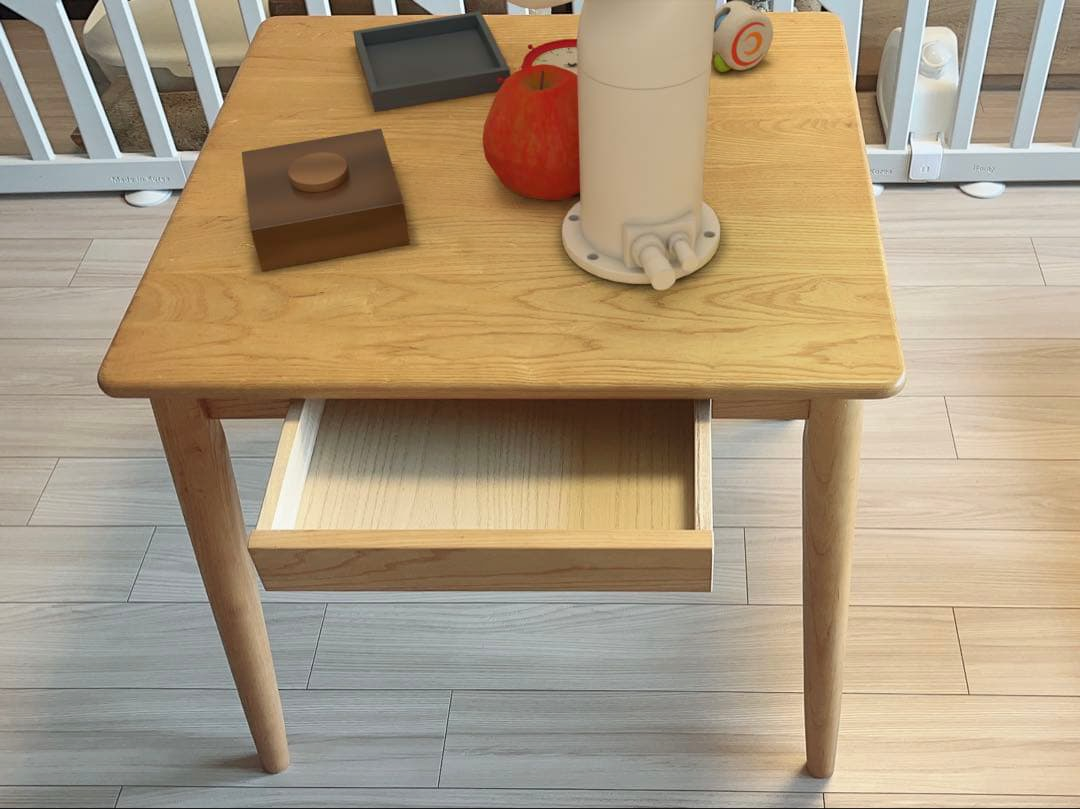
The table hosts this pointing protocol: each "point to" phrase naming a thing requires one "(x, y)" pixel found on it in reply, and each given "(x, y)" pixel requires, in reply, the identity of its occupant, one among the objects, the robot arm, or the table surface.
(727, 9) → the roller toy
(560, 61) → the alarm clock
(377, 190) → the platform
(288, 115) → the table surface
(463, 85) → the tray
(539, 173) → the apple
